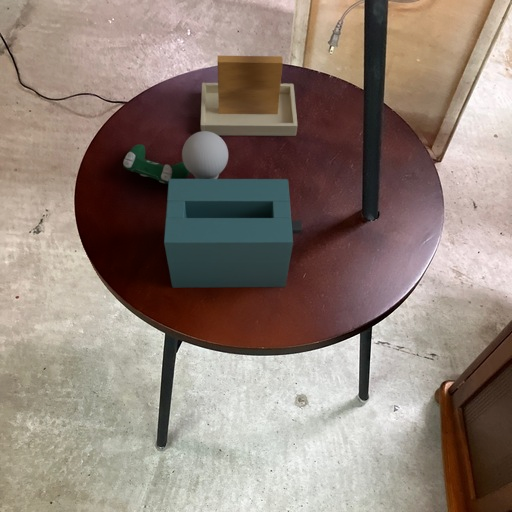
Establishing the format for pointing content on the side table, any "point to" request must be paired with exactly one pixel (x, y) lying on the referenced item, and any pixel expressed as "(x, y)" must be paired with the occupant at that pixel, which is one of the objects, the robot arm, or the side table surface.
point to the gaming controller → (153, 166)
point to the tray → (249, 116)
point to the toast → (249, 84)
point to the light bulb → (205, 155)
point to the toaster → (229, 232)
